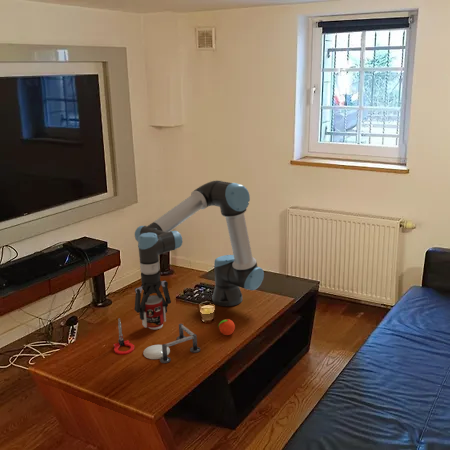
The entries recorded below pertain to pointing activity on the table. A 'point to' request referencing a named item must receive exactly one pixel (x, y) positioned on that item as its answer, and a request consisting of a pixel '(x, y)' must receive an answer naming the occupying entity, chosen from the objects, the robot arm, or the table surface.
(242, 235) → the robot arm
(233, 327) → the clementine
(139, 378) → the table surface
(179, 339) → the grey angled bar frame
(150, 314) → the canned food
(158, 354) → the coaster
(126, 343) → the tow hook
